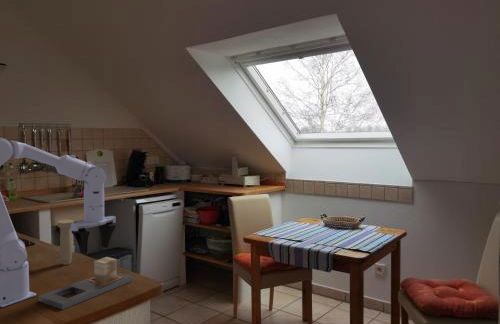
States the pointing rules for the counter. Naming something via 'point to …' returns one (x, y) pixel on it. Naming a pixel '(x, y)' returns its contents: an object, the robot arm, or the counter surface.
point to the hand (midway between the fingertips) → (94, 250)
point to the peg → (105, 270)
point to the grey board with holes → (82, 291)
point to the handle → (65, 241)
